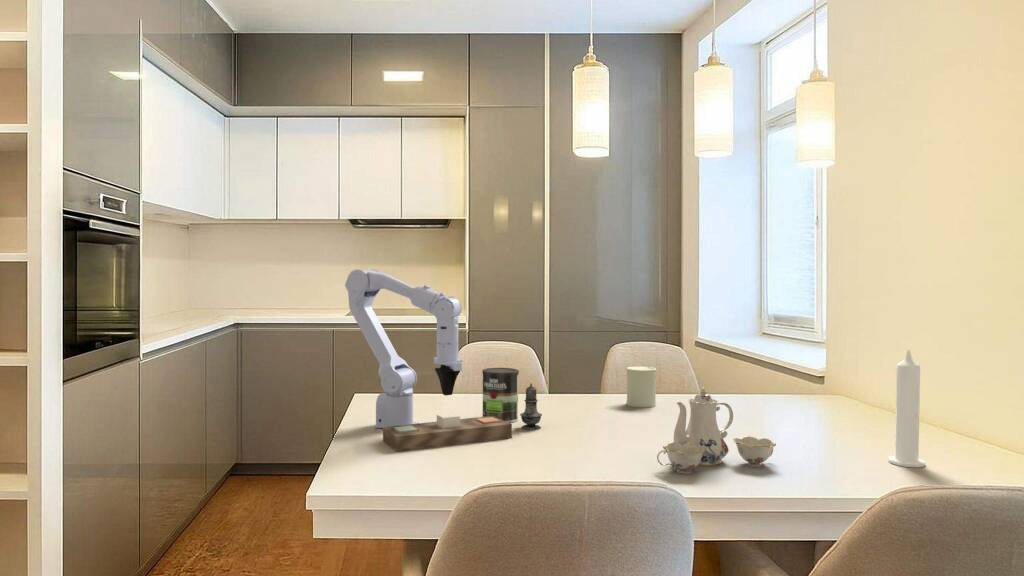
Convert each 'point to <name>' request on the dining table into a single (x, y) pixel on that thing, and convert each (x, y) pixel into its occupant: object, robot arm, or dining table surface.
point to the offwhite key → (448, 420)
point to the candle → (907, 414)
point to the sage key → (405, 429)
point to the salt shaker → (531, 410)
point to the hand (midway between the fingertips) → (447, 394)
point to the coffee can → (500, 393)
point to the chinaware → (709, 438)
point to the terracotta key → (488, 420)
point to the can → (641, 386)
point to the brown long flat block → (446, 434)
